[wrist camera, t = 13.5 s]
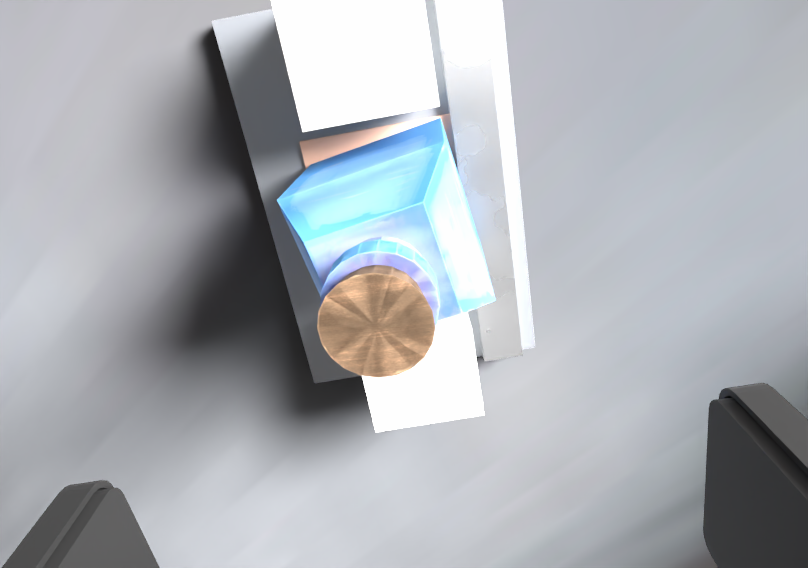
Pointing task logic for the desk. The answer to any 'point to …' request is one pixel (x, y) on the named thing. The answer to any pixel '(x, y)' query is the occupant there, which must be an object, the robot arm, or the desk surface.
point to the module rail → (376, 119)
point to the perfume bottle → (387, 248)
